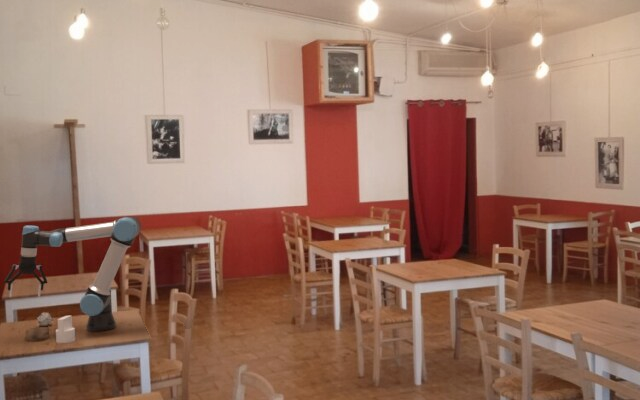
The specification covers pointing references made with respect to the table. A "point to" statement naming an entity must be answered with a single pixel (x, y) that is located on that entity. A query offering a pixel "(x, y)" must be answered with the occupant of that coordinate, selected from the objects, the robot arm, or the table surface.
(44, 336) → the walnut lid
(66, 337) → the white stepped block
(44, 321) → the game die
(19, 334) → the table surface
